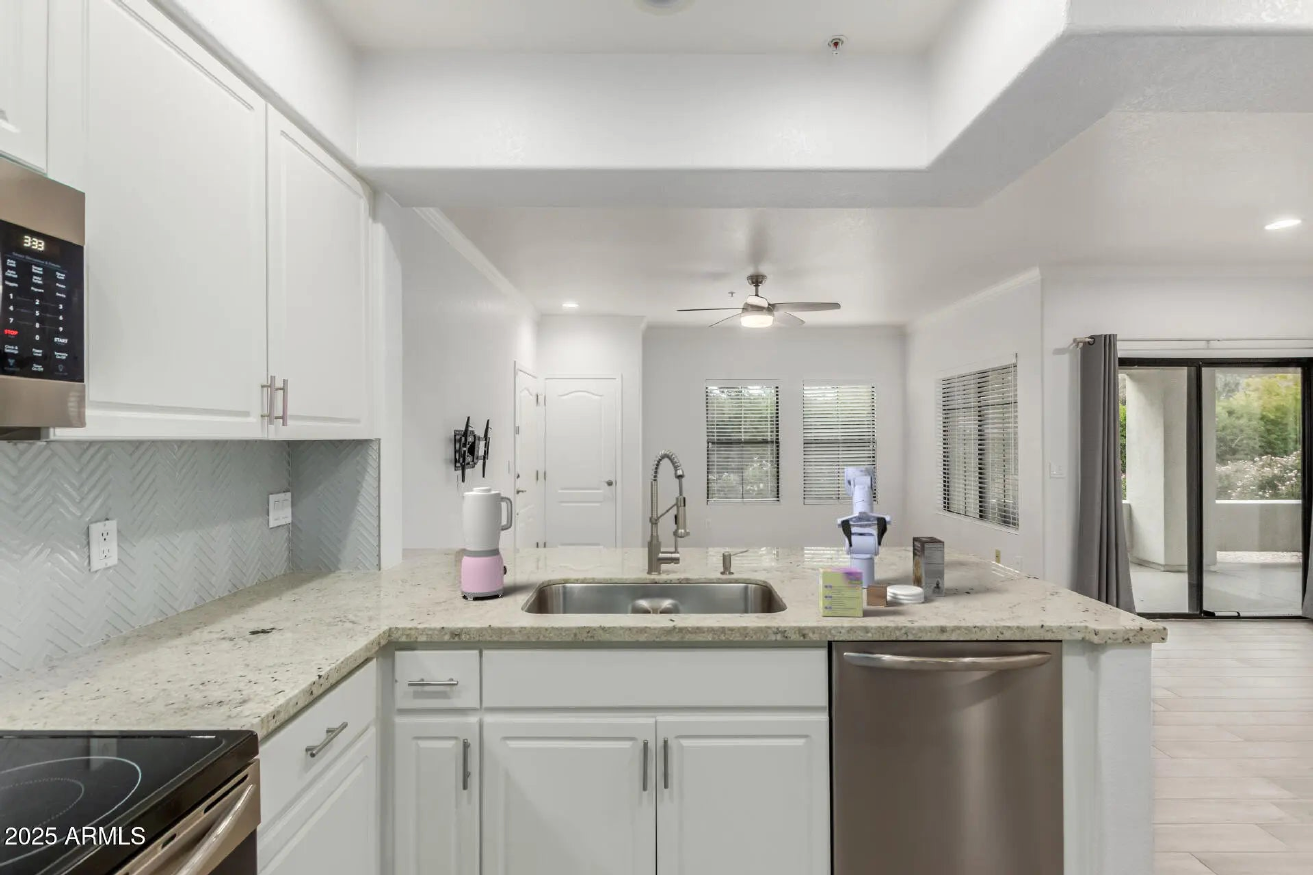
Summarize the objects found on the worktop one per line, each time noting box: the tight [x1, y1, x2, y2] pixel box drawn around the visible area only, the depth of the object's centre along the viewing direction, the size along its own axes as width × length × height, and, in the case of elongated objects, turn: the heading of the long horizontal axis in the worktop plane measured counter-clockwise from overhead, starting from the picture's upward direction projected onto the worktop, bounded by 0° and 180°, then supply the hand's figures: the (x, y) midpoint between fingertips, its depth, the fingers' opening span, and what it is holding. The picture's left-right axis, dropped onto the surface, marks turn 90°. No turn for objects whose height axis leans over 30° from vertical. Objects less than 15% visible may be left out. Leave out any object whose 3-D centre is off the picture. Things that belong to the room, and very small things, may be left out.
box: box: [818, 566, 864, 618], centre depth 172 cm, size 10×6×12 cm, turn 84°
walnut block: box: [866, 584, 888, 608], centre depth 182 cm, size 5×5×5 cm
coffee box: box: [912, 536, 945, 598], centre depth 195 cm, size 9×6×16 cm
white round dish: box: [887, 584, 925, 605], centre depth 187 cm, size 10×10×4 cm
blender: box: [460, 486, 513, 599], centre depth 196 cm, size 16×12×32 cm
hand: (864, 544), depth 183 cm, fingers open, 7 cm apart
